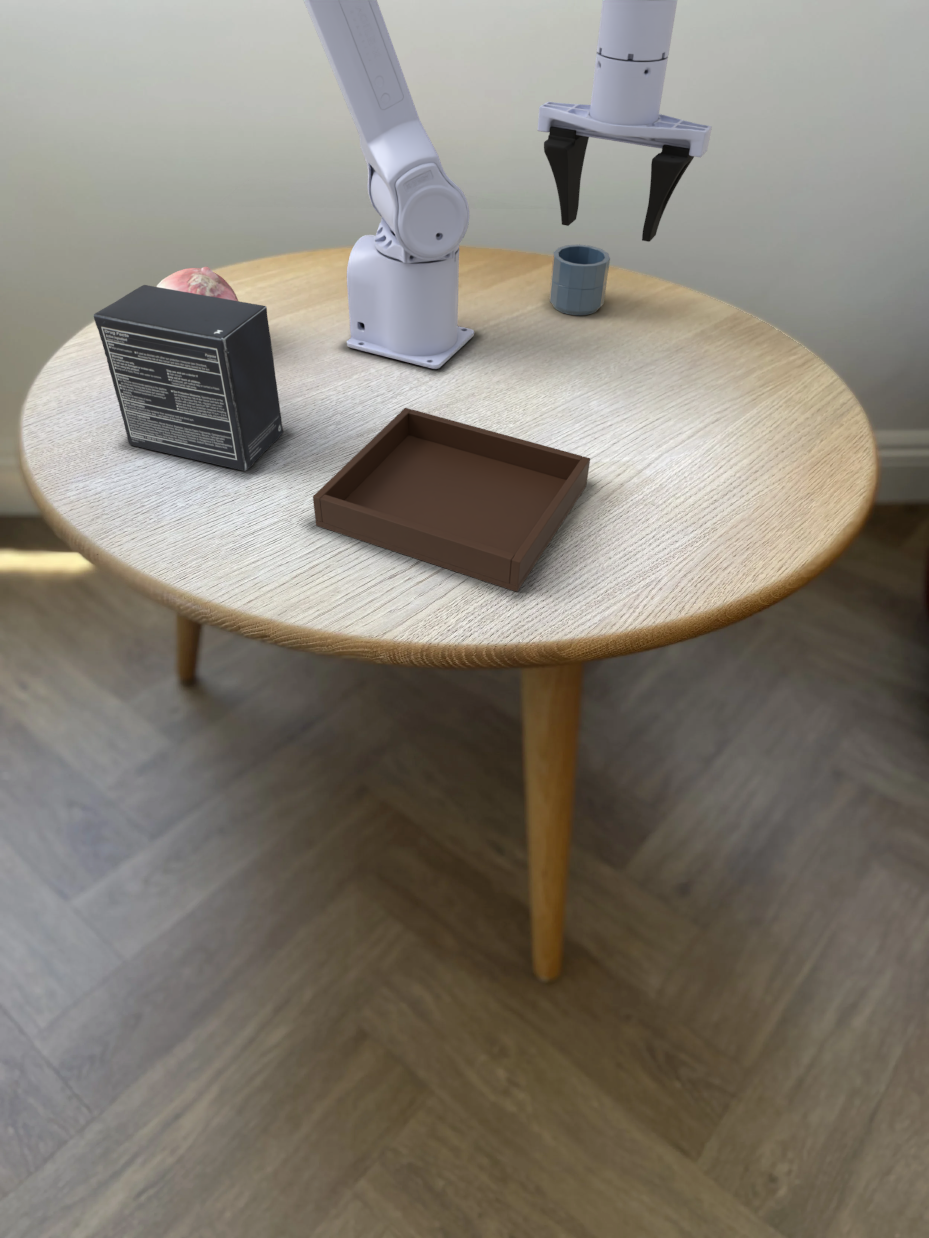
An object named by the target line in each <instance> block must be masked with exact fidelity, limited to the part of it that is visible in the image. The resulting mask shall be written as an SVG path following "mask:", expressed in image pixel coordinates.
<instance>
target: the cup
mask: <svg viewBox="0 0 929 1238" xmlns="http://www.w3.org/2000/svg"><path fill="white" fill-rule="evenodd" d="M551 262H552V263H551V274H550V283H549V292H548V293H549V294H548V295H549V296H548V299H549V302H550V304H552V307H553V308H554V309H555V310H557V311H558V312H559V313H562V314H566V315H569V316H570V315H571V316H588V315H592V314H595V313H596V312H597V311H599V309H600V308H601V307H602V306H603V305H604V304H605V297H606V291H607V290H606V289H607V284H608V277H609V268H610V263H611V257H610V254H609V252H607V251H606V250H604V249H603V248H600V247H596V246H594V245H588V244H587V245H586V244H580V243H579V244H567V245H563V246H560V247H557V248H556V249H555V250H554V251H553V252H552V260H551Z"/></svg>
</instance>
